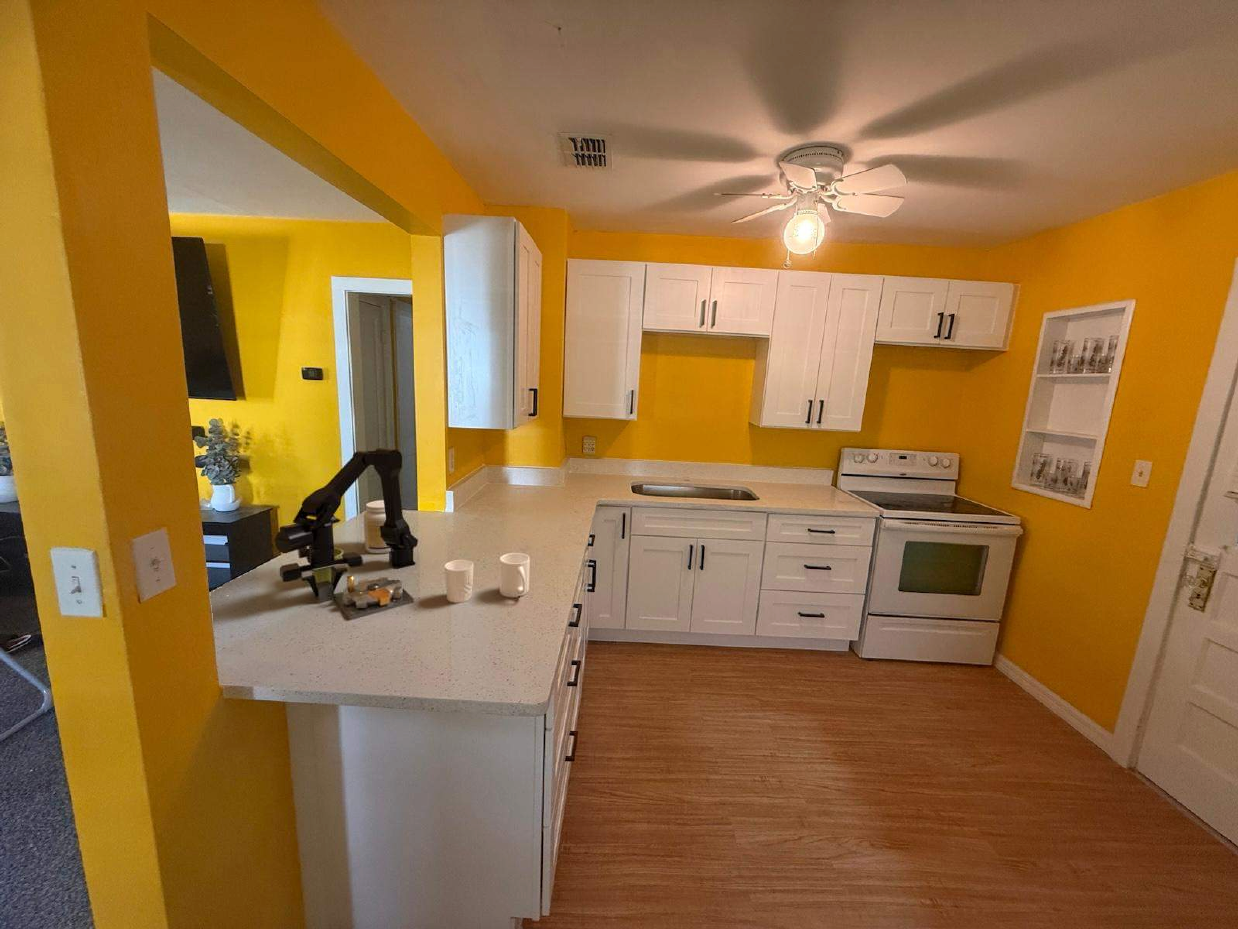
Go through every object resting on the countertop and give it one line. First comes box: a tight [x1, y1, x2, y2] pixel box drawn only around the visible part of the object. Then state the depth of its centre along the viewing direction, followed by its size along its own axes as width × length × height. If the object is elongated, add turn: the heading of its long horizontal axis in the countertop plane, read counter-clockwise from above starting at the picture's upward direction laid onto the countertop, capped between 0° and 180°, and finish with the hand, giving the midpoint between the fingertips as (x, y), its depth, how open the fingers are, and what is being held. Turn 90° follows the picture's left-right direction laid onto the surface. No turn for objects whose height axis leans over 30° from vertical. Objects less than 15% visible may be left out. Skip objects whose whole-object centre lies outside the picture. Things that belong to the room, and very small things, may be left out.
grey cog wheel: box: [342, 575, 404, 608], centre depth 128 cm, size 15×15×6 cm
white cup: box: [444, 559, 475, 604], centre depth 132 cm, size 8×8×10 cm
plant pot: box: [305, 547, 344, 583], centre depth 138 cm, size 9×9×9 cm
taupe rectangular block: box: [315, 580, 335, 604], centre depth 128 cm, size 4×5×4 cm
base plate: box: [334, 579, 415, 621], centre depth 129 cm, size 16×16×1 cm
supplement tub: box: [363, 499, 391, 554], centre depth 165 cm, size 12×12×17 cm
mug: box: [499, 552, 531, 598], centre depth 136 cm, size 9×12×11 cm
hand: (324, 594), depth 128 cm, fingers closed on taupe rectangular block, 3 cm apart
